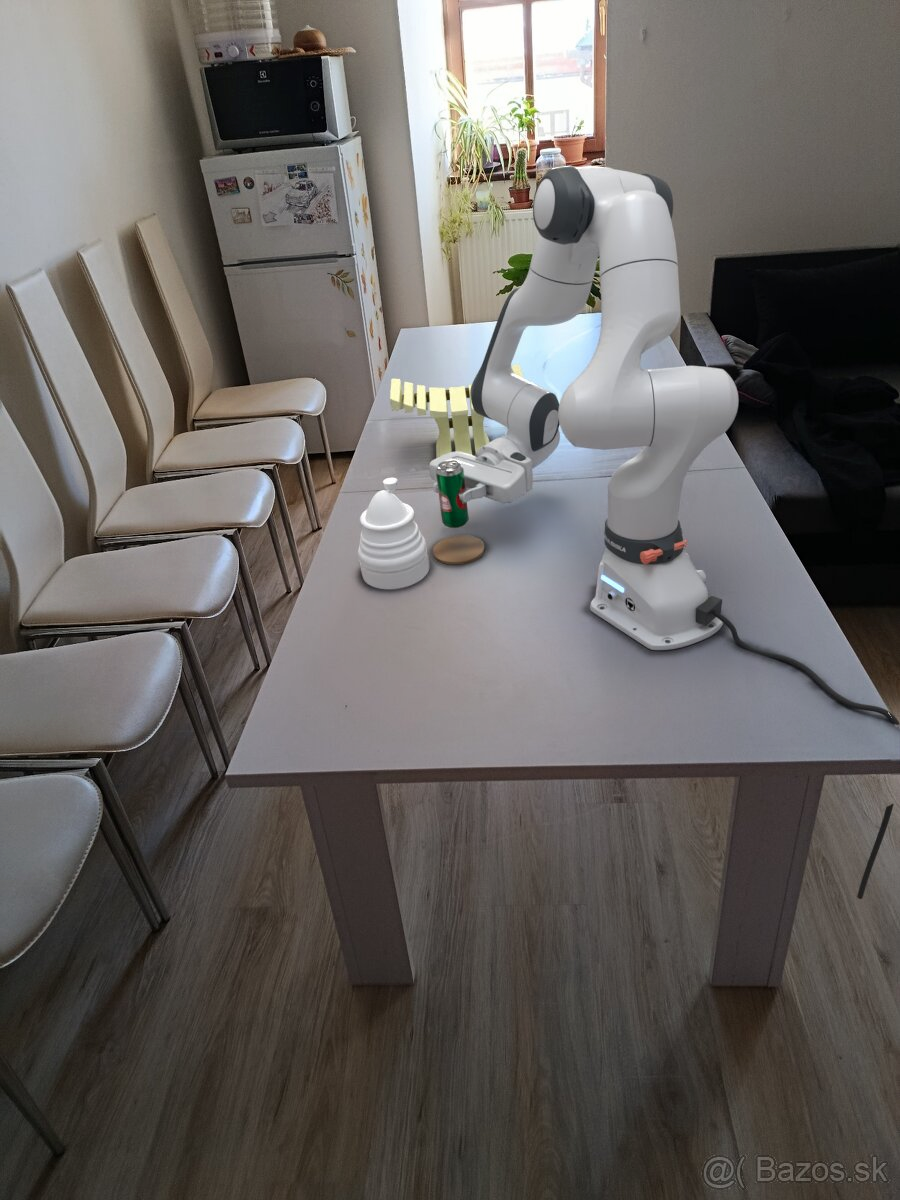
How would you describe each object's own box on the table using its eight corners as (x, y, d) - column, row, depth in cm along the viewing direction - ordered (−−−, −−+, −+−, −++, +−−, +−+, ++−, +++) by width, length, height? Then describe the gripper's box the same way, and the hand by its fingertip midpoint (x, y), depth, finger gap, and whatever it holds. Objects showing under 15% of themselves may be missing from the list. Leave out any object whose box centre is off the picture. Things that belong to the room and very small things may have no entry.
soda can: (438, 520, 151) (430, 463, 145) (461, 513, 153) (455, 456, 146) (449, 532, 148) (442, 474, 141) (473, 524, 149) (467, 466, 142)
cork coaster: (493, 555, 151) (492, 552, 151) (444, 570, 148) (444, 567, 148) (472, 532, 159) (471, 530, 158) (425, 546, 156) (425, 544, 156)
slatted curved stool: (521, 430, 197) (517, 359, 187) (529, 457, 184) (525, 383, 174) (402, 443, 198) (391, 374, 188) (401, 471, 185) (389, 398, 175)
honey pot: (402, 544, 158) (389, 462, 147) (443, 568, 149) (432, 482, 139) (349, 571, 151) (331, 487, 141) (388, 597, 143) (372, 509, 133)
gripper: (456, 438, 158) (407, 465, 150) (537, 461, 146) (489, 492, 138) (459, 466, 162) (411, 494, 154) (539, 491, 149) (492, 523, 142)
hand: (449, 493), depth 146 cm, fingers closed on soda can, 5 cm apart
